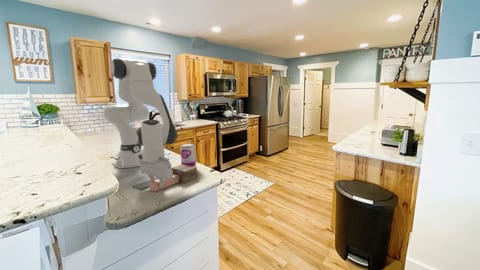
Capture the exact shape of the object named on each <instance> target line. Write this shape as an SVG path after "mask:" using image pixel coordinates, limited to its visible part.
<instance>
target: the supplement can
mask: <svg viewBox="0 0 480 270" xmlns="http://www.w3.org/2000/svg"><path fill="white" fill-rule="evenodd" d="M179 148H180V165H182V164H184V165H188V166H193V167H197V160H196V148H195V145H194V144H193V143H184V144H180V147H179Z"/></svg>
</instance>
